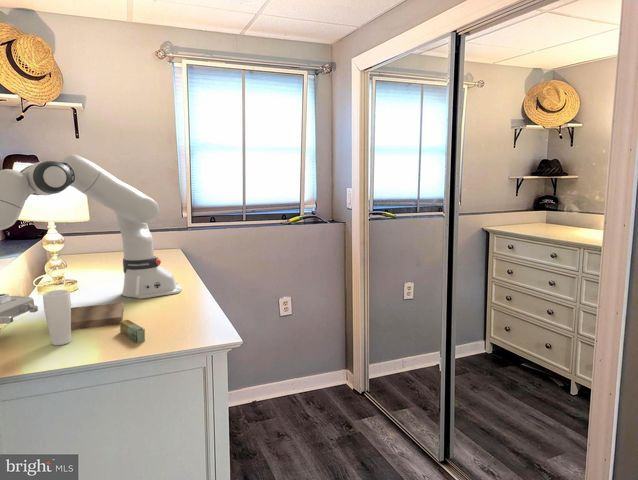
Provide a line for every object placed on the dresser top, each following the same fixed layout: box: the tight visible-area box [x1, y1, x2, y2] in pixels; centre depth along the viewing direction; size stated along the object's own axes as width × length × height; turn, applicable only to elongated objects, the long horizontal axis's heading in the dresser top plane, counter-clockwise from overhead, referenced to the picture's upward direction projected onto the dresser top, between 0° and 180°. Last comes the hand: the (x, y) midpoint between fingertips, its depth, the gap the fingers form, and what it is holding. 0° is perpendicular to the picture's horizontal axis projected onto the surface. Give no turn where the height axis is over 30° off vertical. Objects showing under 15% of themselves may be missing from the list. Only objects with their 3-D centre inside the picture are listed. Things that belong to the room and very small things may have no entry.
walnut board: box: [71, 302, 125, 331], centre depth 154 cm, size 20×16×2 cm
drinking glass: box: [42, 289, 72, 346], centre depth 134 cm, size 7×7×15 cm
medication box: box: [119, 319, 146, 344], centre depth 140 cm, size 12×3×4 cm, turn 45°
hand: (24, 314), depth 136 cm, fingers open, 8 cm apart
